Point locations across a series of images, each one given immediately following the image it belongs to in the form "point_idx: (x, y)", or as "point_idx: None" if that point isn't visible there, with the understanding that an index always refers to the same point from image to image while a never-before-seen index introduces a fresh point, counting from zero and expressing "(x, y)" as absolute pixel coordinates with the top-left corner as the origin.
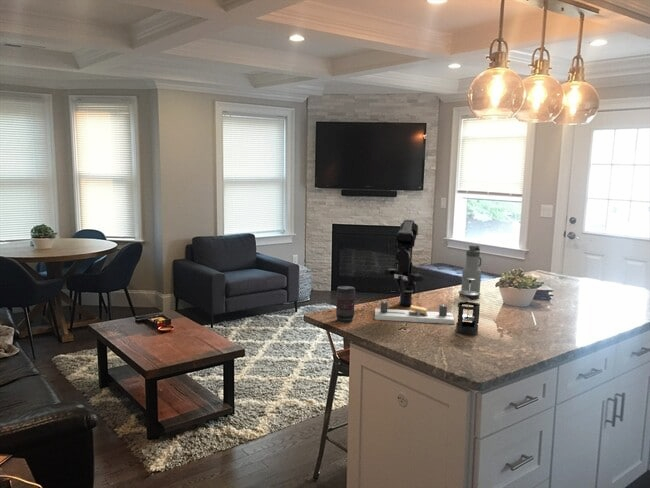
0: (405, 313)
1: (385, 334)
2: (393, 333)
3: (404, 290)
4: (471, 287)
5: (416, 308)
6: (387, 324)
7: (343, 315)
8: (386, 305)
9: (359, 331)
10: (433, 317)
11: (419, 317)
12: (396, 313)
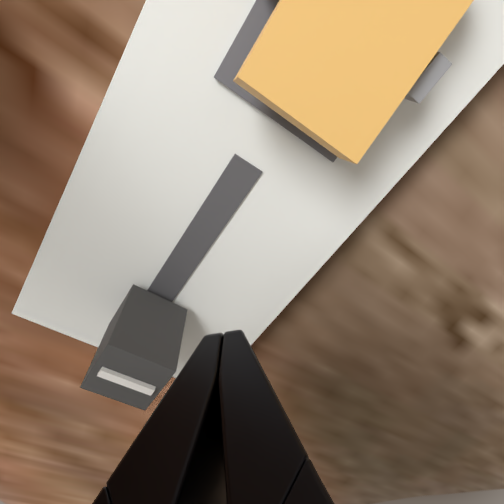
0: (254, 157)
1: (470, 428)
2: (487, 397)
3: (272, 391)
4: None
5: (401, 99)
6: (341, 352)
7: None
8: (174, 360)
9: (363, 482)
10: None
11: (452, 111)
12: (222, 239)
